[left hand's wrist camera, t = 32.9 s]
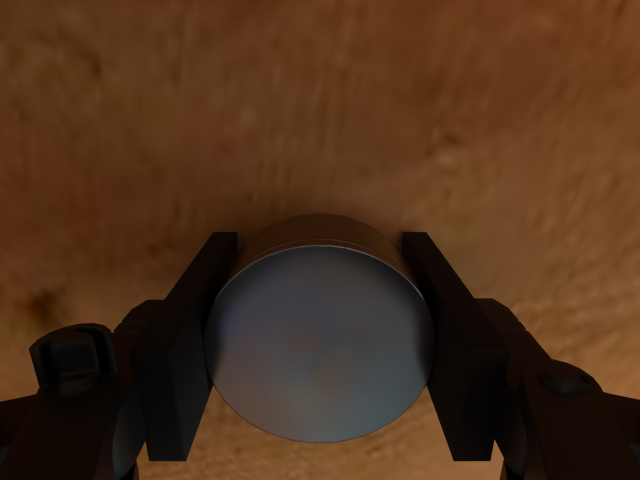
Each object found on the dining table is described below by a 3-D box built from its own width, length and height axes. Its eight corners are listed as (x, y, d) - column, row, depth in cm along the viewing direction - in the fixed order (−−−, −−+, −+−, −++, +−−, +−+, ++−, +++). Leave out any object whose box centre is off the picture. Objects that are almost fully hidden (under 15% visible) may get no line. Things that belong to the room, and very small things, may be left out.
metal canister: (431, 221, 11) (458, 255, 9) (399, 388, 13) (416, 450, 11) (225, 204, 11) (200, 234, 9) (223, 375, 13) (203, 436, 11)
